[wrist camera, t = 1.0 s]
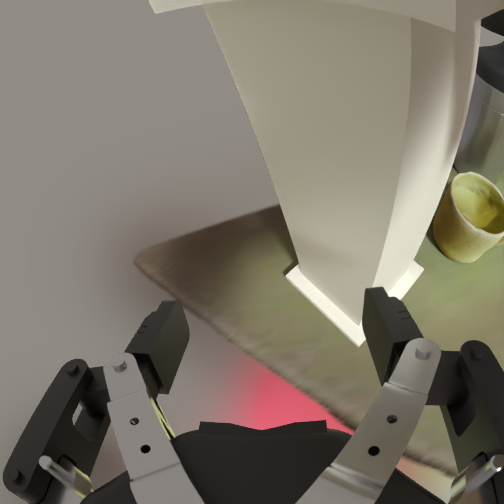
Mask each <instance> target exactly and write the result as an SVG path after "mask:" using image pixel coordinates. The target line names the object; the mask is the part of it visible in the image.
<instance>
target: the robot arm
mask: <svg viewBox="0 0 504 504" xmlns="http://www.w3.org/2000/svg"><path fill="white" fill-rule="evenodd" d="M481 26H482V27H484V28H486V29H488V30H490V31H492V32H494V33H497V34H499V35H502V36H504V9H502V10H500V11H497V12H495V13H493V14H491V15H489V16H487V17H485V18H483V19H481ZM453 164H454V166H455V168H456V169H457V171H458V172H459V173H466V172H470V171H471V172H474V173H478V174H480V175H482V176H483V177H485V178H486V179H488V180H489V181H490V182H492V183H493V184H495V183H496V182H497V180H498V178H499V176H500V174H501V172H502V170H503V168H504V41H503V42H502V43H500V44H497V45H494V46H484V47H479V50H478V58H477V66H476V72H475V78H474V84H473V89H472V94H471V99H470V104H469V108H468V113H467V117H466V121H465V125H464V129H463V132H462V136H461V139H460V143H459V146H458V150H457V153H456V156H455V159H454V162H453ZM362 328H363V332H364V335H365V338H366V341H367V343H368V346H369V349H370V352H371V355H372V358H373V361H374V364H375V367H376V370H377V374H378V377H379V380H380V383H381V386H382V389H381V390H380V392H379V394H378V396H377V397H376V399H375V401H374V402H373V404H372V406H371V407H370V409H369V411H368V412H367V414H366V415H365V417H364V419H363V420H362V422H361V423H360V425H359V426H358V428H357V429H356V431H355V432H354V434H353V435H350V434H348V433H346V432H343V431H339V430H335V429H328V428H327V425H326V420H321V421H309V422H295V423H291V424H287V425H283V426H279V427H275V428H270V429H266V430H257V429H252V428H247V427H243V426H239V425H235V424H231V423H215V422H200V426H199V430H194V431H190V432H186V433H183V434H181V435H178V436H175V434H174V433H173V431H172V429H171V427H170V425H169V423H168V421H167V419H166V417H165V415H164V413H163V411H162V409H161V407H160V405H159V403H158V401H157V400H156V398H157V396H158V393H159V394H169V391H170V389H171V386H172V383H173V380H174V378H175V375H176V373H177V370H178V367H179V365H180V362H181V360H182V357H183V354H184V352H185V349H186V347H187V344H188V341H189V327H188V324H187V320H186V317H185V314H184V310H183V307H182V304H181V302H180V301H179V300H174V301H162V303H161V304H160V306H159V308H158V309H157V311H156V312H152V313H151V314H150V315H148V316H147V317H146V318H145V319H144V321H143V323H142V324H141V327H139V329H138V331H137V333H136V334H135V335H134V337H133V339H132V340H131V342H130V344H129V345H128V347H127V349H126V350H125V352H124V353H118V354H115V355H113V356H112V357H110V358H109V359H108V360H107V361H106V362H105V364H104V366H102V367H94V368H89V367H88V365H87V363H86V362H85V361H84V360H82V359H74V360H71V361H69V362H67V363H66V364H65V365H64V366H63V367H62V368H61V370H60V371H59V373H58V374H57V376H56V377H55V379H54V380H53V382H52V384H51V385H50V387H49V388H48V390H47V392H46V393H45V395H44V397H43V398H42V400H41V401H40V403H39V405H38V407H37V408H36V410H35V412H34V413H33V415H32V417H31V419H30V420H29V422H28V424H27V426H26V428H25V429H24V431H23V433H22V435H21V437H20V439H19V441H18V443H17V444H16V447H15V448H14V450H13V452H12V454H11V456H10V458H9V460H8V462H7V465H6V467H5V469H4V472H3V482H4V485H5V486H6V488H7V489H8V490H9V491H11V492H12V493H14V494H15V495H16V496H18V497H20V498H21V499H22V500H23V501H25V502H26V503H27V504H446V503H445V502H444V501H442V500H441V499H439V498H438V497H437V496H435V495H433V494H432V493H431V492H429V491H427V490H426V489H424V488H423V487H422V486H420V485H419V484H418V483H416V482H415V481H413V480H412V479H410V478H409V477H408V476H406V475H405V474H404V473H402V472H401V471H400V470H398V469H397V468H396V465H397V464H398V462H399V460H400V458H401V456H402V454H403V452H404V450H405V448H406V446H407V444H408V442H409V440H410V438H411V436H412V434H413V432H414V430H415V427H416V425H417V423H418V421H419V418H420V416H421V414H422V411H423V409H424V406H425V405H439V406H440V409H441V412H442V415H443V418H444V421H445V424H446V427H447V431H448V434H449V438H450V441H451V445H452V448H453V452H454V456H455V460H456V464H457V468H458V473H459V474H458V475H457V476H456V477H455V479H454V480H453V482H452V485H451V497H450V501H449V503H448V504H504V372H503V370H502V368H501V366H500V365H499V363H498V361H497V359H496V358H495V356H494V354H493V353H492V351H491V349H490V348H489V347H488V346H487V345H486V344H484V343H483V342H480V341H476V340H471V341H467V342H465V343H464V344H463V345H462V347H461V350H460V351H442V350H441V349H440V347H439V346H438V345H437V344H436V343H435V342H434V341H432V340H429V339H426V338H424V337H423V335H422V334H421V332H420V330H419V328H418V327H417V325H416V323H415V321H414V320H413V318H411V315H410V313H409V311H408V310H407V308H406V306H405V305H404V303H403V302H402V301H400V300H399V299H398V298H396V297H395V296H394V297H389V296H388V294H387V292H386V291H385V289H384V287H382V286H381V287H372V288H366V289H365V293H364V304H363V314H362ZM78 404H80V405H81V406H82V408H83V409H82V411H81V413H80V415H79V417H78V419H77V421H76V423H75V425H73V422H72V417H73V414H74V412H75V410H76V408H77V406H78ZM110 422H112V425H113V429H114V432H115V435H116V438H117V442H118V445H119V448H120V451H121V454H122V457H123V460H124V463H125V465H126V468H127V471H125V472H124V473H122V474H121V475H119V476H117V477H116V478H114V479H113V480H111V481H110V482H108V483H106V484H105V485H103V486H101V487H100V488H98V489H97V490H95V491H93V490H92V484H91V481H90V479H89V478H90V475H91V472H92V469H93V466H94V464H95V461H96V459H97V456H98V453H99V450H100V447H101V445H102V443H103V440H104V437H105V435H106V432H107V430H108V427H109V425H110Z"/></svg>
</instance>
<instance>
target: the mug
mask: <svg viewBox="0 0 504 504" xmlns="http://www.w3.org/2000/svg"><path fill="white" fill-rule="evenodd" d="M433 234H434V238H435V241H436V243H437V244H438V246H439V248H440V249H441V251H442V252H443V254H444V255H445V256H446V257H448V258H449V259H451V260H454V261H456V262H459V263H472V262H474V261H476V260H477V259H478V258H479V257H480V256H481V255H482V254H483V253H484V252H485V251H486V250H488V249H490V248H492V247H495V246H498V245H504V197H503V196H502V194H501V192H500V191H499V190H498V188H497V187H496V186H495V185H494V184H493V183H492V182H490V181H489V180H488V179H486V178H485V177H483V176H482V175H480V174H478V173H474V172H471V171H470V172H466V173H459V174H457V175H456V176H455V177H454V178H453V180H452V181H451V182H450V184H449V186H448V189H447V190H446V192H445V194H444V197H443V200H442V202H441V204H440V206H439V208H438V210H437V212H436V214H435V216H434V219H433Z"/></svg>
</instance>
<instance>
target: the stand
mask: <svg viewBox="0 0 504 504" xmlns="http://www.w3.org/2000/svg"><path fill="white" fill-rule="evenodd" d="M148 1H149V3H150V5H151V7H152V8H153V10H154V12H155V14H157V13H161V12H165V11H170V10H174V9H179V8H185V7H190V6H196V5H202V6H203V9H204V10H205V13H206V15H207V17H208V20H209V21H210V24H211V26H212V29H213V31H214V33H215V36H216V38H217V40H218V42H219V45H220V47H221V50H222V52H223V54H224V57H225V59H226V62H227V64H228V66H229V69H230V72H231V74H232V76H233V79H234V81H235V84H236V86H237V89H238V91H239V94H240V96H241V99H242V102H243V104H244V107H245V109H246V112H247V115H248V117H249V120H250V122H251V125H252V128H253V130H254V133H255V136H256V138H257V141H258V144H259V146H260V149H261V152H262V155H263V157H264V160H265V163H266V166H267V169H268V171H269V174H270V177H271V180H272V183H273V186H274V188H275V191H276V194H277V197H278V200H279V203H280V206H281V209H282V212H283V215H284V218H285V221H286V224H287V227H288V230H289V233H290V236H291V239H292V242H293V245H294V248H295V251H296V255H297V258H298V261H299V264H298V265H296V266H295V267H294V268H293V269H292V270H291V271H290V272H289V273H288V274H287V275H286V278H287V280H288V281H289V282H290V283H291V284H292V285H293V286H294V287H295V288H296V289H297V290H298V291H299V292H300V293H302V294H303V295H304V296H305V297H306V298H307V299H308V300H309V301H310V302H311V303H312V304H313V305H314V306H315V307H316V308H317V309H318V310H319V311H320V312H321V313H322V314H323V315H324V316H326V317H327V318H328V319H329V320H330V321H331V322H332V323H333V324H334V325H335V326H336V327H337V328H338V329H339V330H340V331H341V332H342V333H343V334H344V335H345V336H346V337H347V338H348V339H349V340H350V341H352V342H353V343H354V344H355V345H356V346H357V347H359V346H360V345H361V344H362V343H363V342H364V341H365V340H366V338H365V335H364V332H363V328H362V314H363V304H364V293H365V289H366V288H372V287H381V286H382V287H384V289H385V291H386V292H387V294H388V296H389V297H394V296H395V297H396V298H398V299H399V300H401V299H402V297H403V296H404V295H405V294H406V293H407V291H408V290H409V289H410V288H411V286H412V285H413V284H414V282H415V281H416V280H417V279H418V277H419V276H420V275H421V273H422V272H423V270H424V269H423V268H422V267H421V266H420V265H418V264H417V263H416V262H415V261H414V260H413V259H414V257H415V255H416V253H417V251H418V249H419V247H420V245H421V243H422V241H423V239H424V236H425V234H426V232H427V230H428V227H429V225H430V223H431V221H432V218H433V216H434V213H435V211H436V209H437V206H438V204H439V201H440V199H441V196H442V193H443V191H444V188H445V185H446V183H447V180H448V177H449V174H450V171H451V168H452V165H453V162H454V159H455V156H456V153H457V150H458V146H459V143H460V139H461V136H462V132H463V129H464V125H465V121H466V117H467V113H468V108H469V104H470V99H471V94H472V89H473V84H474V78H475V72H476V66H477V58H478V50H479V40H480V26H481V19H483V18H485V17H487V16H489V15H491V14H493V13H495V12H497V11H500V10H502V9H504V0H148Z"/></svg>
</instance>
